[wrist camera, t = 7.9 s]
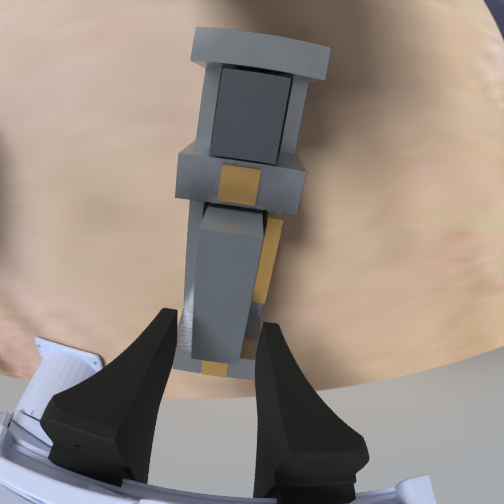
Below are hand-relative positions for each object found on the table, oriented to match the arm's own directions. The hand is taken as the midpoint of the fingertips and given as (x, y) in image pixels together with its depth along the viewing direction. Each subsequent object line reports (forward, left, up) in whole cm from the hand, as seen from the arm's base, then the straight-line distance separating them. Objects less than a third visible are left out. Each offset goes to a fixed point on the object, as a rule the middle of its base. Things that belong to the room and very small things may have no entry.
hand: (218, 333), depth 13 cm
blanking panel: (+1, 0, -8) cm, 8 cm away
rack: (+3, 0, -8) cm, 8 cm away
